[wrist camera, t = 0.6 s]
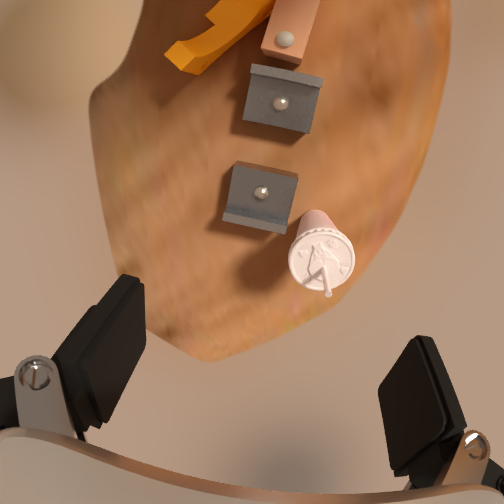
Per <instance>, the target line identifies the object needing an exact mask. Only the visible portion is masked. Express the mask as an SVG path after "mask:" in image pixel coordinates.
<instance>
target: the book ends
mask: <svg viewBox="0 0 504 504" xmlns="http://www.w3.org/2000/svg"><path fill="white" fill-rule="evenodd" d="M250 73H251V74H252V75H251V79H250V84H249V89H248V94H247V99H246V104H245V109H244V114H243V119H242V120H248V121H253V122H258V123H263V124H268V125H272V126H277V127H282V128H286V129H290V130H295V131H299V132H303V133H307V134H309V133H310V129H311V124H312V120H313V116H314V111H315V107H316V103H317V98H318V94H319V90H320V88H321V87H322V82H323V78H319V77H315V76H311V75H307V74H303V73H299V72H294V71H290V70H285V69H280V68H275V67H270V66H264V65H258V64H253V63H252V65H251V70H250ZM297 182H298V174H296V173H292V172H288V171H284V170H279V169H275V168H270V167H266V166H261V165H256V164H252V163H247V162H242V161H237V162H236V163H235V164H234V166H233V172H232V177H231V183H230V189H229V194H228V200H227V206H226V209H225V211H224V213H223V219H222V221H226V222H231V223H235V224H240V225H244V226H249V227H253V228H258V229H262V230H267V231H271V232H276V233H280V234H284V235H285V234H286V230H287V224H288V218H289V214H290V210H291V206H292V202H293V198H294V194H295V190H296V186H297Z"/></svg>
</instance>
